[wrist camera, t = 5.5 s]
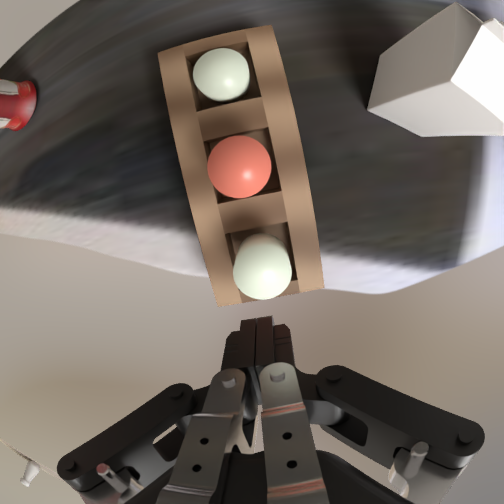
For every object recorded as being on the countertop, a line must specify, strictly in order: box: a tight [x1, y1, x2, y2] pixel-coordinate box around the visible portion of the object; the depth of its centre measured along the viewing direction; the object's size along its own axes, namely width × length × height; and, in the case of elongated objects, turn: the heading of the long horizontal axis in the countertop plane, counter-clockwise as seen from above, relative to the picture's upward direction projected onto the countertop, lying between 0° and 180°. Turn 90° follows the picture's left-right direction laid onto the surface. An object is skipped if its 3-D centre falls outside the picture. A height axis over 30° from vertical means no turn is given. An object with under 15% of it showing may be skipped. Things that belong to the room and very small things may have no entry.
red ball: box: [207, 136, 271, 198], centre depth 21 cm, size 4×4×4 cm
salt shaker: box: [20, 460, 40, 487], centre depth 55 cm, size 6×6×13 cm
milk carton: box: [367, 2, 504, 137], centre depth 15 cm, size 7×7×19 cm
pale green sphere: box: [193, 48, 250, 104], centre depth 21 cm, size 4×4×4 cm
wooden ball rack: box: [158, 25, 324, 307], centre depth 25 cm, size 24×10×5 cm, turn 12°
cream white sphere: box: [233, 233, 292, 299], centre depth 23 cm, size 4×4×4 cm
